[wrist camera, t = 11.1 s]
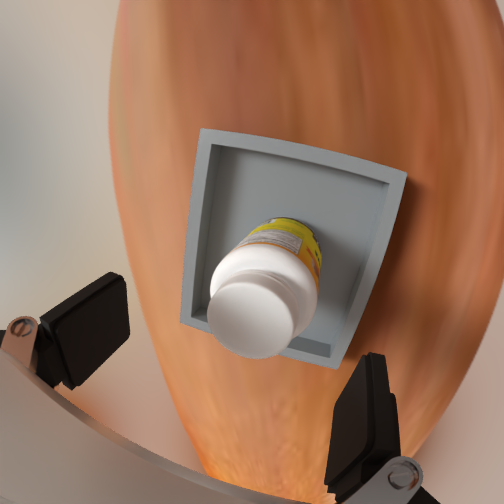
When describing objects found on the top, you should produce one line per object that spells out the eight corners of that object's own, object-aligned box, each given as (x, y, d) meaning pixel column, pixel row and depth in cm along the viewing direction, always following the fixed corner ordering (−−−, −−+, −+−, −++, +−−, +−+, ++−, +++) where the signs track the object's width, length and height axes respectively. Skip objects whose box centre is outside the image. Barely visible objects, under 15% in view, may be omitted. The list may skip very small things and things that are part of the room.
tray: (214, 130, 20) (200, 128, 18) (398, 171, 18) (407, 173, 15) (192, 309, 26) (180, 322, 24) (337, 351, 24) (337, 369, 21)
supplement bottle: (309, 294, 22) (289, 386, 13) (242, 271, 23) (183, 347, 13) (332, 227, 20) (333, 291, 10) (259, 204, 21) (198, 246, 11)
